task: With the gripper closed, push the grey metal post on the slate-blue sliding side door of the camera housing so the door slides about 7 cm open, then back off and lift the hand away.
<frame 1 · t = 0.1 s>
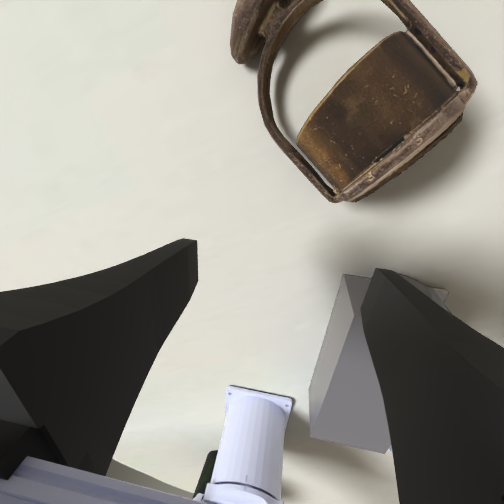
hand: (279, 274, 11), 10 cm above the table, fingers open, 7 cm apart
door: (420, 421, 23), point 4 cm above the table, slide at 0.0 cm
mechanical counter: (335, 84, 16), on the table
housing: (359, 347, 25), on the table
cup: (224, 458, 41), on the table
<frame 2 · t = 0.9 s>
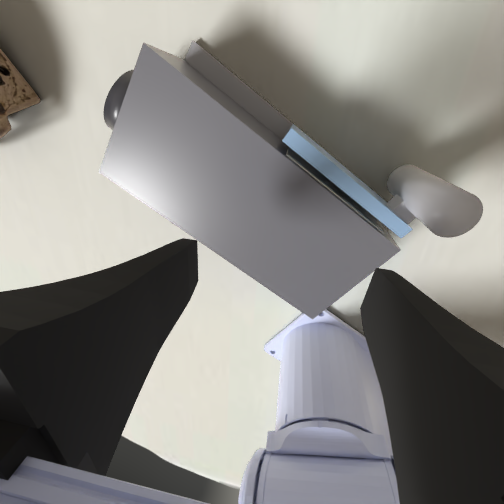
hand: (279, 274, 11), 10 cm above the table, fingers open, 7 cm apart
door: (368, 164, 13), point 4 cm above the table, slide at 0.0 cm
housing: (258, 186, 19), on the table
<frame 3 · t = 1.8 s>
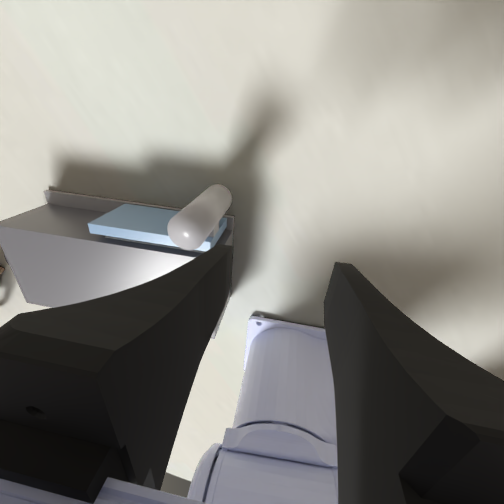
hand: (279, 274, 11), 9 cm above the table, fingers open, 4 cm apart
door: (156, 213, 16), point 4 cm above the table, slide at 0.0 cm
housing: (144, 251, 23), on the table
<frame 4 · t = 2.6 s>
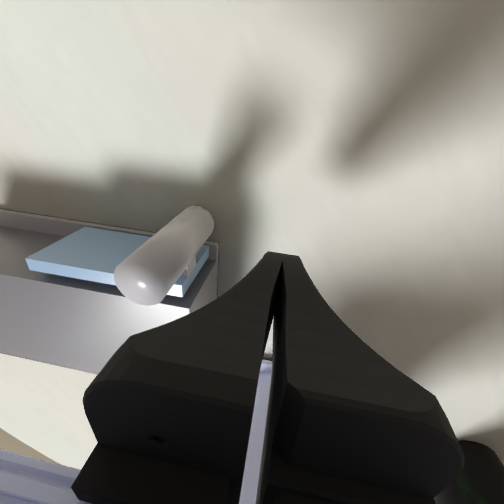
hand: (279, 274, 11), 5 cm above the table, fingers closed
door: (113, 246, 13), point 4 cm above the table, slide at 0.0 cm
housing: (113, 281, 19), on the table
cup: (457, 455, 23), on the table
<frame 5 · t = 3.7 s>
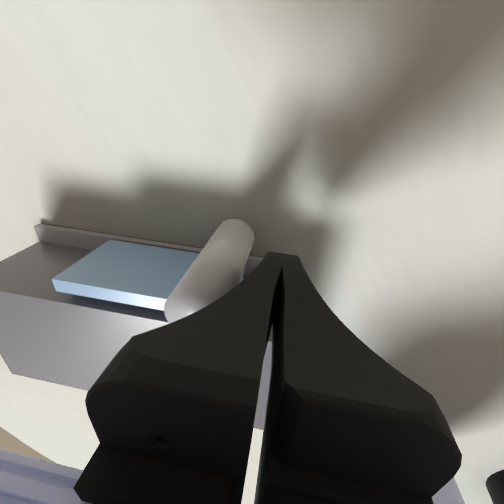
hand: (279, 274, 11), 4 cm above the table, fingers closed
door: (149, 265, 12), point 4 cm above the table, slide at 2.1 cm, touching gripper
housing: (165, 300, 18), on the table
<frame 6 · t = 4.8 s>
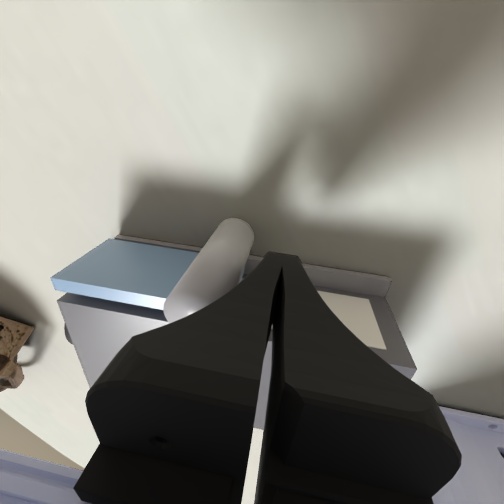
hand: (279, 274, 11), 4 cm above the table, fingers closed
door: (148, 264, 11), point 4 cm above the table, slide at 7.5 cm, touching gripper
housing: (241, 313, 17), on the table
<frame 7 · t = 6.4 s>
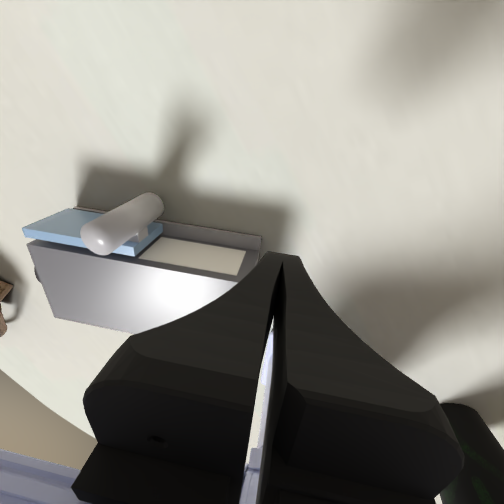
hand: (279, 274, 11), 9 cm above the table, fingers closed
door: (86, 220, 18), point 4 cm above the table, slide at 7.5 cm
housing: (169, 267, 23), on the table
cup: (447, 417, 27), on the table
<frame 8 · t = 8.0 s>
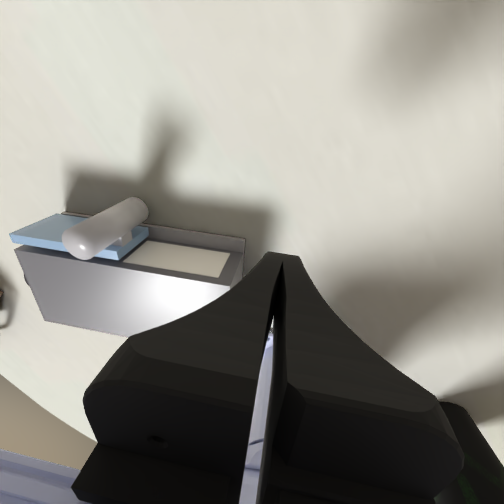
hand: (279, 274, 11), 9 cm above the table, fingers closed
door: (71, 225, 18), point 4 cm above the table, slide at 7.5 cm
housing: (157, 270, 24), on the table
cup: (437, 415, 27), on the table
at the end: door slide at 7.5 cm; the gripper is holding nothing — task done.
